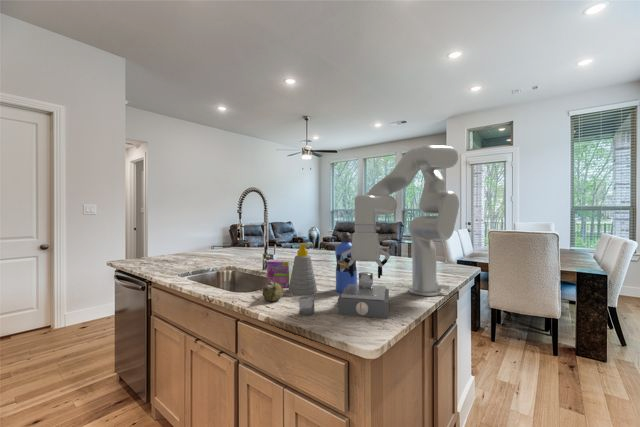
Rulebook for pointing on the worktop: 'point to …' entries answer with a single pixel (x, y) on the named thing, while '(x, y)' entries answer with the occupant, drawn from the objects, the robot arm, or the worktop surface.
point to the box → (279, 272)
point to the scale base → (364, 306)
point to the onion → (272, 291)
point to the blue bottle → (344, 264)
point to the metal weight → (366, 280)
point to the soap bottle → (302, 274)
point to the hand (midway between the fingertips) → (365, 276)
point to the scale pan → (364, 292)
